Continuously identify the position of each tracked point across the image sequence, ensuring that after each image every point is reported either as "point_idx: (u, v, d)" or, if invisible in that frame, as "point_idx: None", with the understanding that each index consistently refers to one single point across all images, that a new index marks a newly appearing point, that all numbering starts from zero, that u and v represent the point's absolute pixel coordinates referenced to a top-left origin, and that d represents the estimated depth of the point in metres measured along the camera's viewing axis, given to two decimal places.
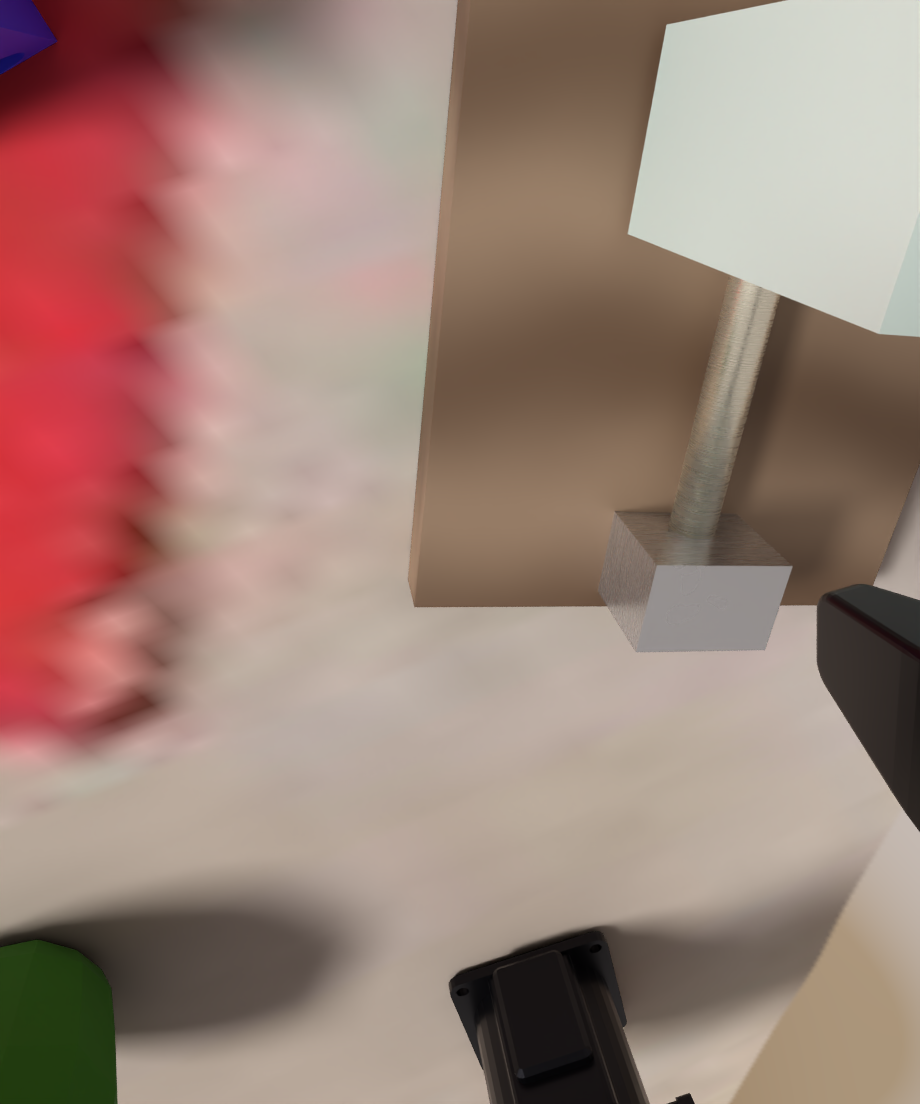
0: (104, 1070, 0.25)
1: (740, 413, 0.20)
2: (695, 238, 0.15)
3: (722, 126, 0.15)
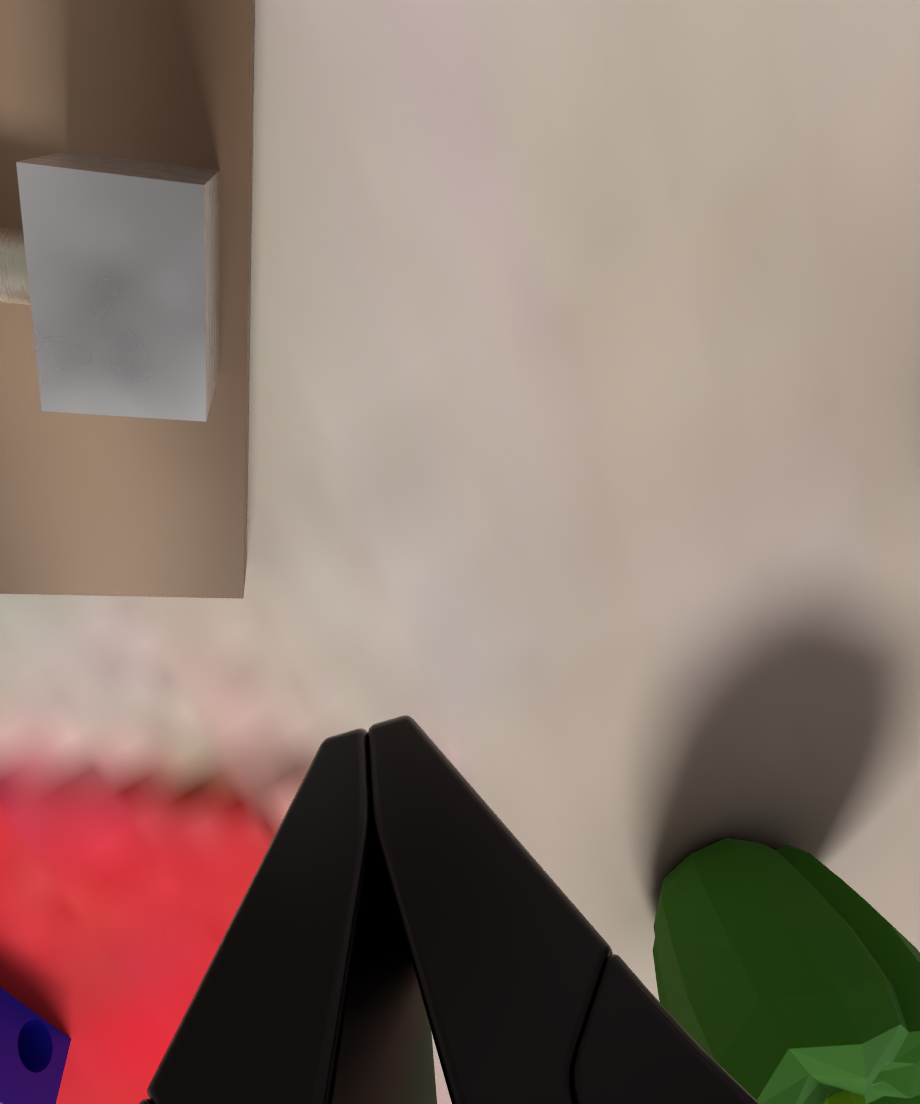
0: (772, 927, 0.23)
1: None
2: None
3: None
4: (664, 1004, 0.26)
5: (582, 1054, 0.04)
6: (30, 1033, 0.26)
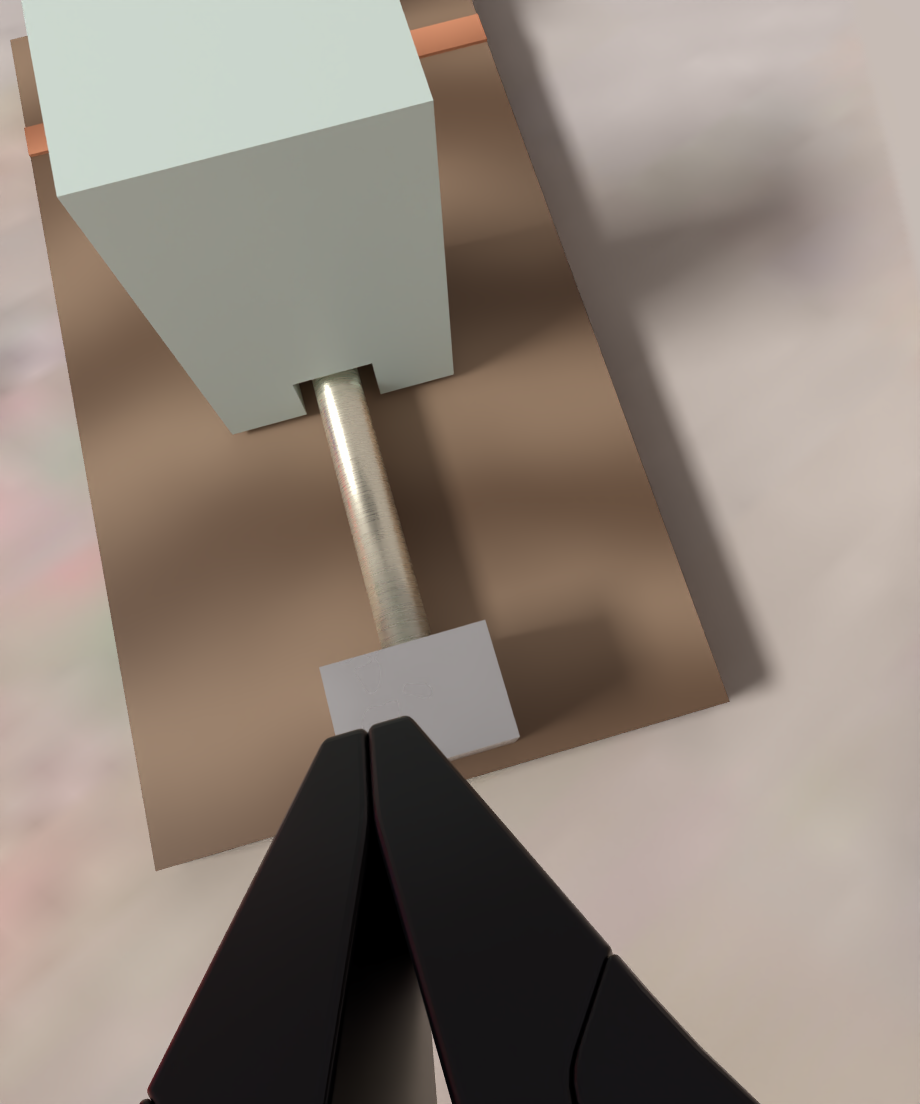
0: None
1: (378, 514, 0.20)
2: None
3: None
4: None
5: (583, 1054, 0.04)
6: None
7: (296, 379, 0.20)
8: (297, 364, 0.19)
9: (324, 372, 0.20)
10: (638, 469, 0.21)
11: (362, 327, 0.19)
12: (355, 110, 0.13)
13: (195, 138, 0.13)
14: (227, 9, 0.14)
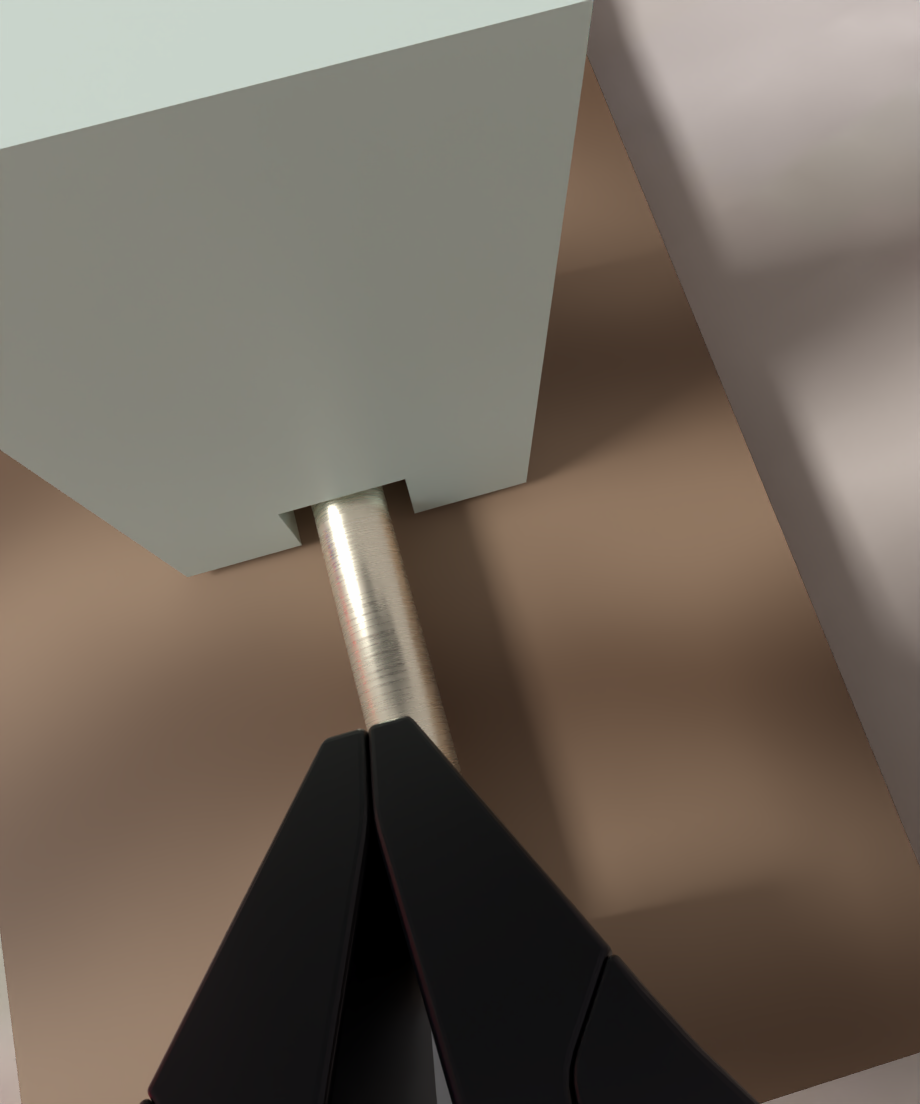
0: None
1: None
2: None
3: None
4: None
5: (582, 1054, 0.04)
6: None
7: (284, 507, 0.12)
8: (284, 489, 0.12)
9: (328, 494, 0.12)
10: (815, 633, 0.14)
11: (393, 434, 0.11)
12: (409, 23, 0.05)
13: (26, 88, 0.05)
14: None
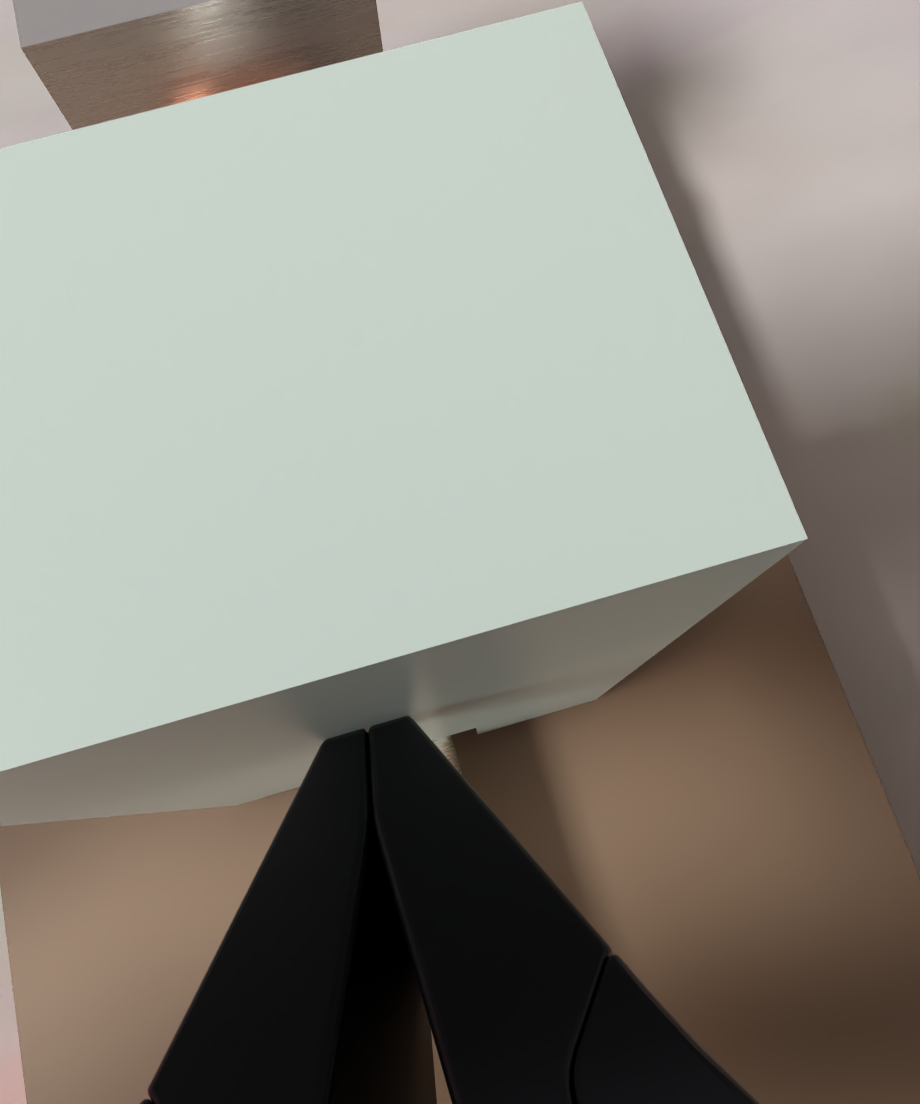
0: None
1: None
2: None
3: None
4: None
5: (582, 1053, 0.04)
6: None
7: None
8: None
9: None
10: None
11: (475, 718, 0.10)
12: (589, 568, 0.05)
13: (135, 654, 0.05)
14: (229, 257, 0.05)
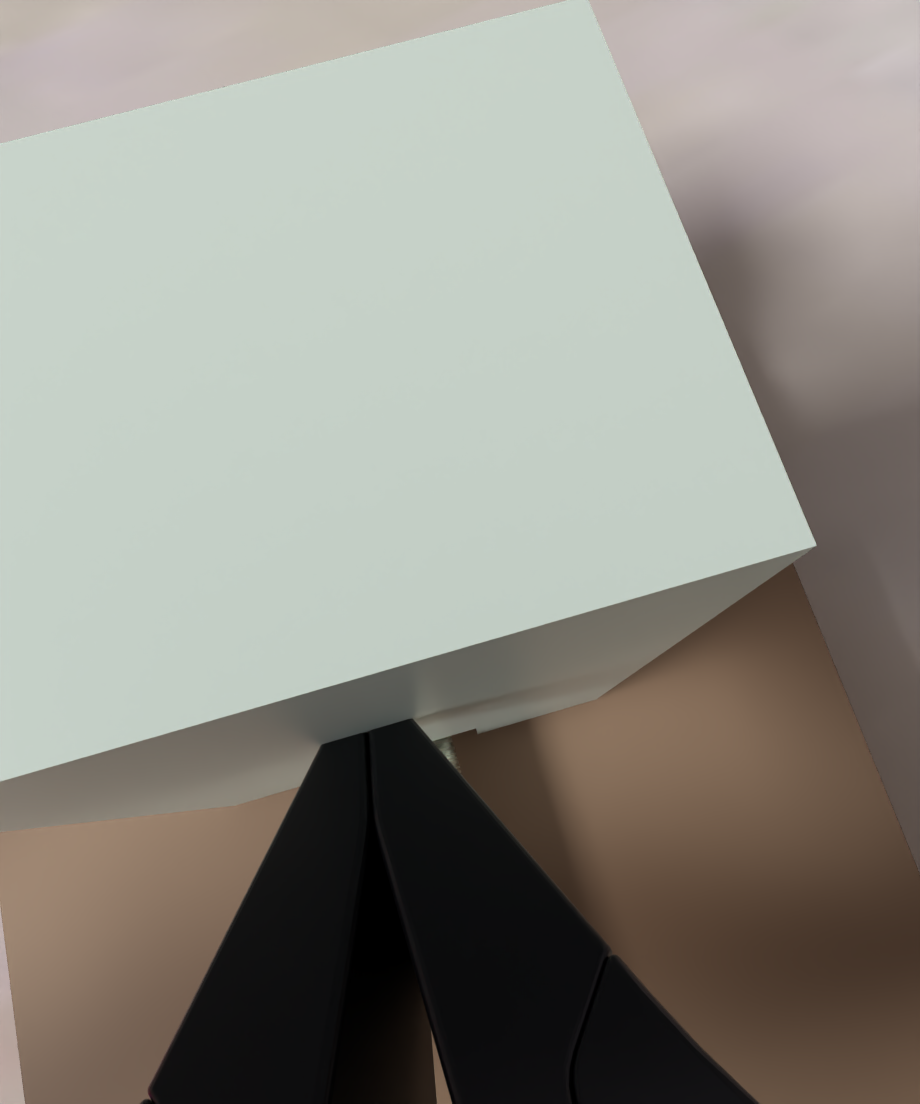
0: None
1: None
2: None
3: None
4: None
5: (583, 1054, 0.04)
6: None
7: None
8: None
9: None
10: None
11: (475, 720, 0.10)
12: (596, 575, 0.04)
13: (132, 661, 0.04)
14: (226, 257, 0.05)
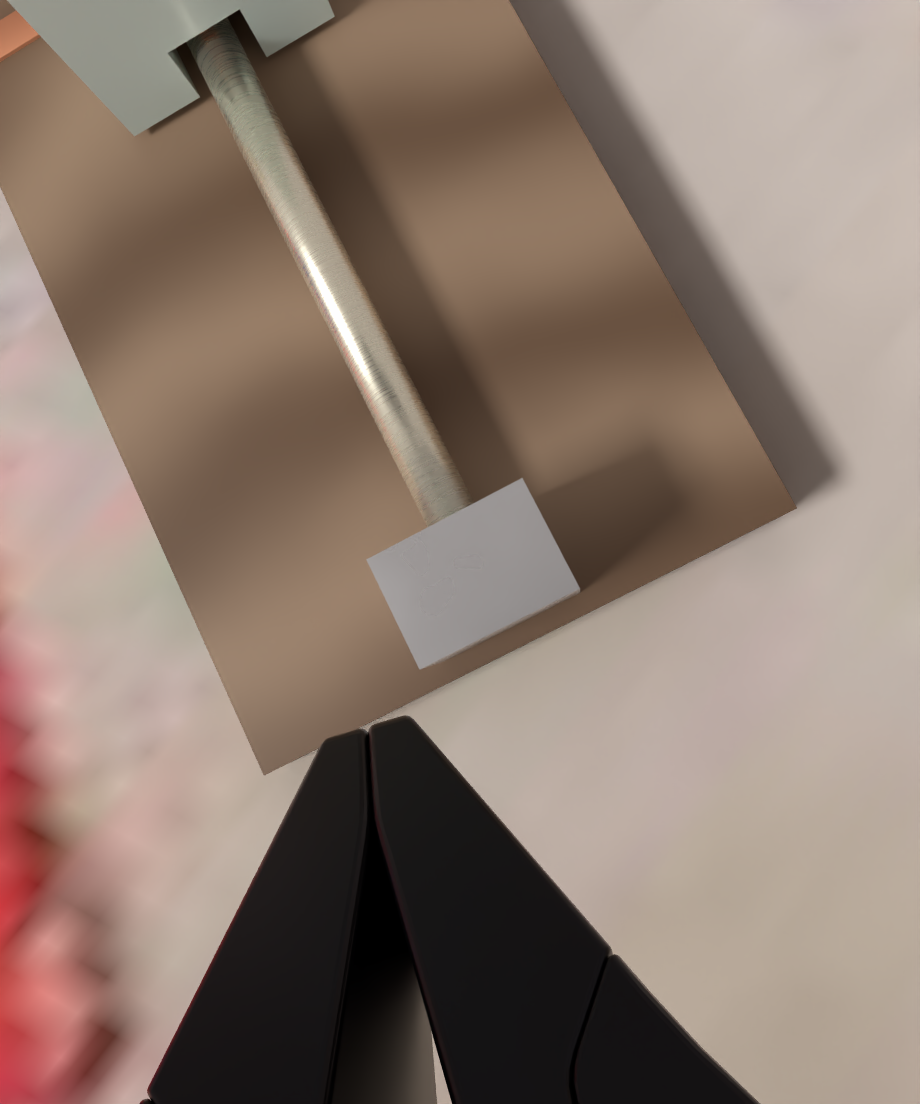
0: None
1: (394, 391, 0.19)
2: None
3: None
4: None
5: (582, 1054, 0.04)
6: None
7: (168, 44, 0.19)
8: (160, 20, 0.19)
9: (193, 28, 0.19)
10: (660, 280, 0.20)
11: None
12: None
13: None
14: None
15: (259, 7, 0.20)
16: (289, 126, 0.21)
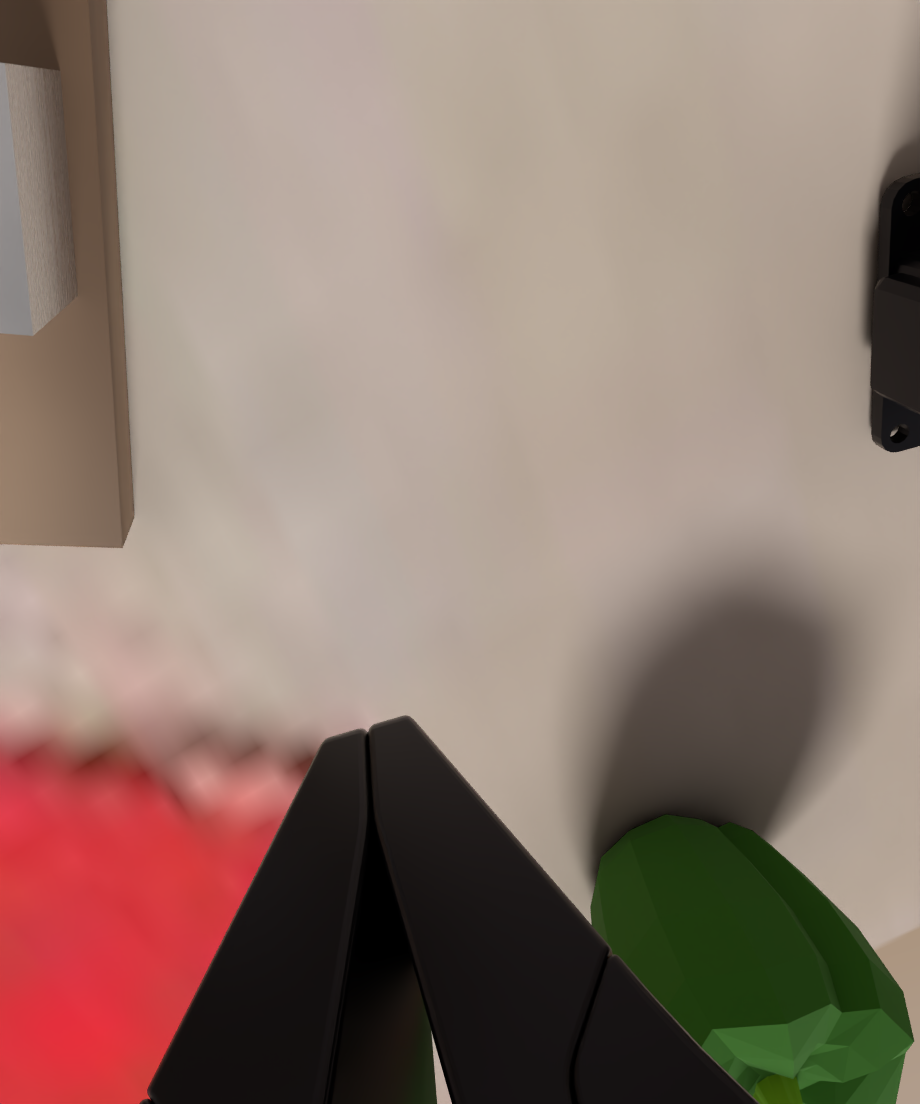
0: (703, 903, 0.22)
1: None
2: None
3: None
4: None
5: (583, 1054, 0.04)
6: None
7: None
8: None
9: None
10: None
11: None
12: None
13: None
14: None
15: None
16: None
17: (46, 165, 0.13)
